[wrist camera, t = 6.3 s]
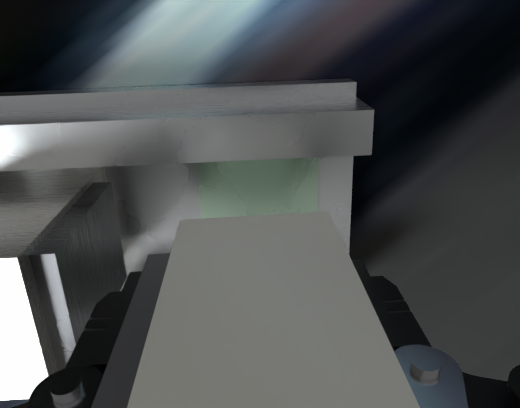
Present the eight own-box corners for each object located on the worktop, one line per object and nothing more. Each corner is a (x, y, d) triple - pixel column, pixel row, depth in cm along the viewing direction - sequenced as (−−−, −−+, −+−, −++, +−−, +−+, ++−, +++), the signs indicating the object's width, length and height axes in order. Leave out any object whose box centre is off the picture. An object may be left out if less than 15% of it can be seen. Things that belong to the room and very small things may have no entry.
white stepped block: (350, 78, 17) (435, 127, 9) (342, 290, 20) (400, 449, 13) (-41, 94, 16) (-270, 158, 9) (18, 306, 20) (-114, 478, 12)
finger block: (328, 211, 12) (426, 423, 6) (326, 333, 14) (403, 607, 8) (157, 221, 12) (69, 447, 6) (174, 342, 14) (119, 629, 7)
